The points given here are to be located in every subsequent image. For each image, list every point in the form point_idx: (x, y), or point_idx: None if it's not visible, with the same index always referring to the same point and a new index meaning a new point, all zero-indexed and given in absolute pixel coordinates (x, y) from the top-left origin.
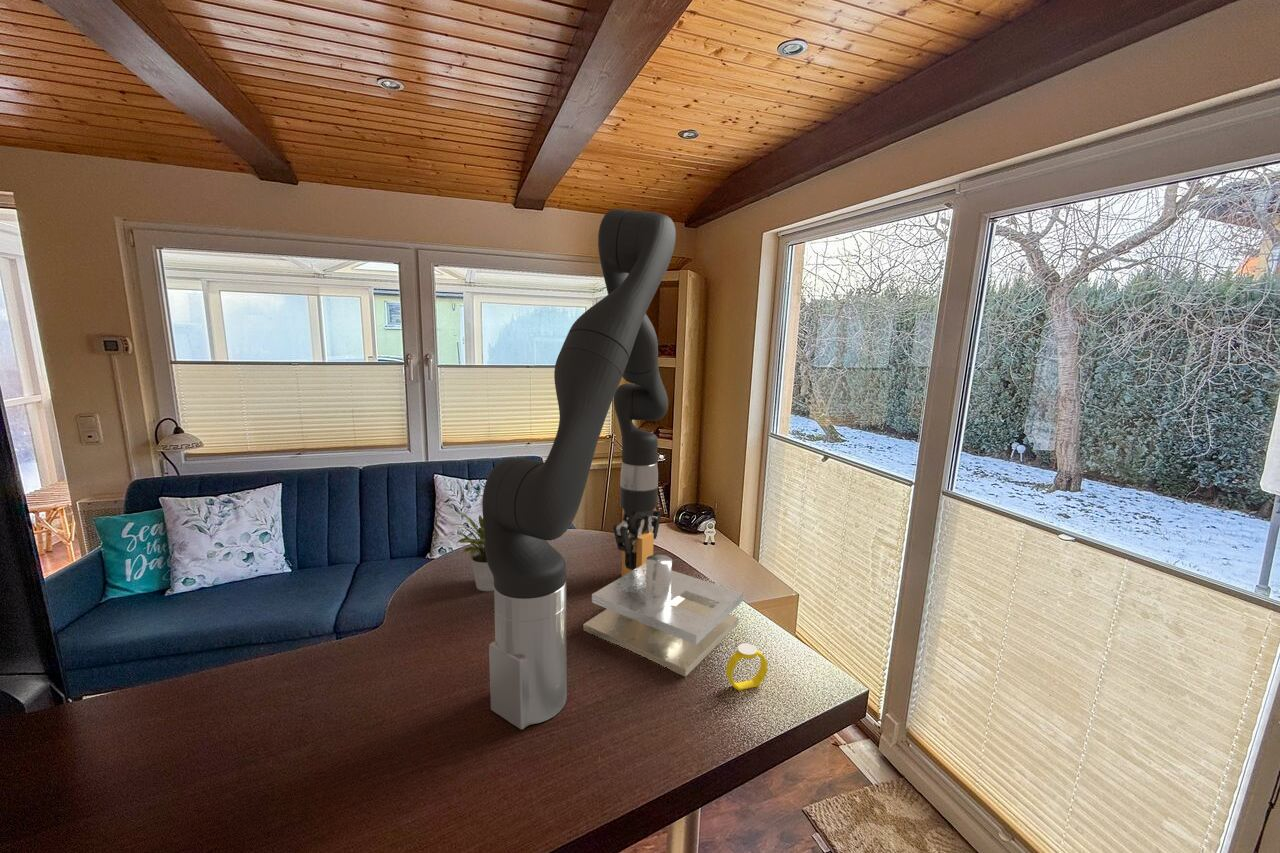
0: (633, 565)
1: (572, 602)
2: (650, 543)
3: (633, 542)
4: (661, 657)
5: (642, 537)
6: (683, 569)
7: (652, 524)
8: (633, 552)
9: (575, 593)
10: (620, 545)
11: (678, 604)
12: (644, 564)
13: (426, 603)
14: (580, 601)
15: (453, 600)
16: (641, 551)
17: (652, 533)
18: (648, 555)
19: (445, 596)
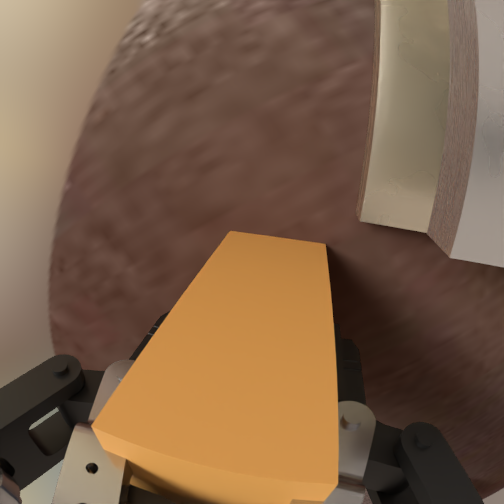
0: (340, 341)
1: (498, 371)
2: (186, 373)
3: (361, 480)
4: None
5: (287, 491)
6: (78, 161)
7: (21, 445)
8: (365, 408)
9: (452, 394)
10: (401, 490)
11: (442, 3)
12: (490, 253)
13: (494, 485)
14: (492, 360)
15: (488, 479)
16: (334, 376)
17: (107, 436)
18: (242, 313)
19: (476, 489)
